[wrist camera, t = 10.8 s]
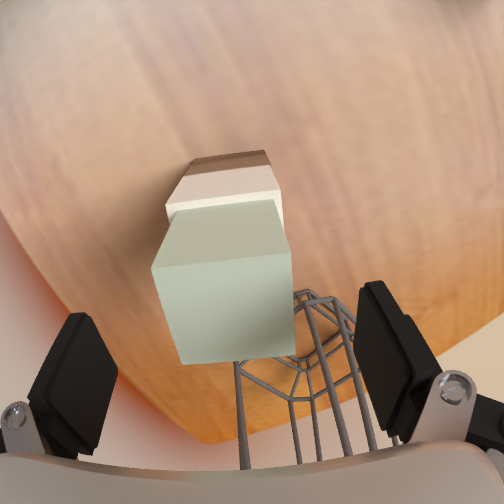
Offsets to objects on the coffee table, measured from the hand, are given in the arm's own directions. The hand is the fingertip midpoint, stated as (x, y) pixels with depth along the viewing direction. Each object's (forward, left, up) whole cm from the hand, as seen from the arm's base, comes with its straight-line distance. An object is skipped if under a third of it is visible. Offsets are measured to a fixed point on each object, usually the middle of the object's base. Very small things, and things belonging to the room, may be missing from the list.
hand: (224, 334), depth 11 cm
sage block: (+1, 0, -8) cm, 8 cm away
